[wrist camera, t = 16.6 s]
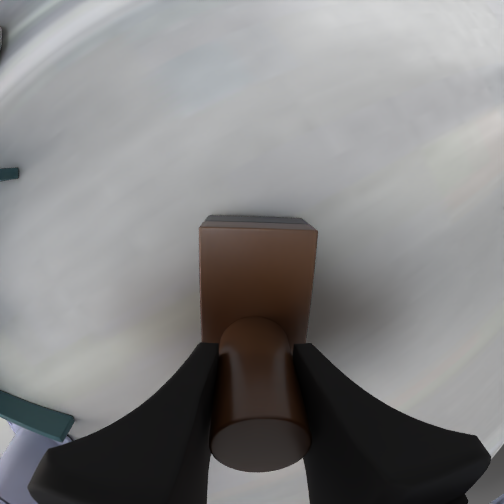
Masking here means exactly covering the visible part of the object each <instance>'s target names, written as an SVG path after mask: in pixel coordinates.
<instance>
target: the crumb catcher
mask: <svg viewBox="0 0 504 504" xmlns="http://www.w3.org/2000/svg"><path fill="white" fill-rule="evenodd" d="M17 178H18V168H4V169H0V181H5V180H11V179H17ZM0 417H1V418H3V419H5V420H7V421H10V422H12V423H14V424H16V425H18V426H20V427H23V428H25V429H27V430H30V431H32V432H34V433H37V434H39V435H42V436H45V437H47V438H50V439H53V440H55V441H58V442H61V443H63V441H64V440H65V438H66V436H67V434H68V432H69V430H70V429H71V427H72V425H73V423H74V419H73V417H72V416H70V415H66V414H63V413H60V412H57V411H53V410H50V409H47V408H44V407H41V406H39V405H36V404H33V403H30V402H28V401H25V400H22V399H20V398H17V397H15V396H12V395H10V394H8V393H5V392H3V391H1V390H0Z"/></svg>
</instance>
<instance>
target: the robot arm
mask: <svg viewBox="0 0 504 504" xmlns="http://www.w3.org/2000/svg"><path fill="white" fill-rule="evenodd" d="M292 358H293V362H294V366H295V370H296V374H297V377H298V381H299V385H300V389H301V393H302V397H303V401H304V405H305V409H306V413H307V417H308V422H309V426H310V430H311V434H312V444H311V447H310V449H309V451H308V453H307V454H306V455H305V456H304V457H303V459H304V464H305V469H306V475H307V483H308V490H309V499H310V504H467V503H468V499H467V497H466V495H465V493H466V492H467V491H468V490H469V489H470V488H471V487H472V486H473V485H474V484H475V483H476V481H477V480H478V479H479V478H480V477H481V476H482V475H483V473H484V472H485V471H486V470H487V468H488V466H489V464H490V461H491V456H490V454H489V453H488V451H487V450H486V449H485V447H484V446H483V444H482V443H481V442H480V440H479V439H478V437H477V436H475V435H470V434H465V433H460V432H455V431H451V430H446V429H443V428H440V427H437V426H434V425H431V424H428V423H425V422H422V421H420V420H417V419H415V418H412V417H410V416H408V415H406V414H404V413H402V412H400V411H398V410H396V409H394V408H392V407H390V406H388V405H387V404H385V403H383V402H382V401H380V400H378V399H377V398H375V397H373V396H372V395H370V394H369V393H368V392H366V391H365V390H363V389H362V388H361V387H359V386H358V385H357V384H355V383H354V382H353V381H352V380H350V379H349V378H348V377H347V376H346V375H344V374H343V373H342V372H341V371H340V370H339V369H338V368H336V367H335V366H334V365H333V364H332V363H331V362H330V361H329V360H328V359H327V358H326V357H325V356H324V355H323V354H322V353H321V352H320V351H319V350H318V349H317V348H316V347H315V346H314V345H313V344H311V343H302V344H294V346H293V355H292ZM218 360H219V343H205V342H201V343H199V344H198V345H197V347H196V348H195V349H194V351H193V352H192V354H191V355H190V356H189V357H188V359H187V360H186V361H185V362H184V364H183V365H182V366H181V367H180V368H179V369H178V371H177V372H176V373H175V374H174V375H173V376H172V377H171V378H170V379H169V380H168V381H167V382H166V383H165V384H164V385H163V386H162V387H161V388H160V389H159V390H158V391H157V392H156V393H155V394H154V395H153V396H151V397H150V398H149V399H148V400H147V401H145V402H144V403H143V404H141V405H140V406H139V407H138V408H136V409H135V410H133V411H132V412H130V413H129V414H127V415H126V416H124V417H123V418H121V419H119V420H118V421H116V422H114V423H113V424H111V425H109V426H107V427H105V428H103V429H101V430H99V431H97V432H95V433H92V434H90V435H88V436H85V437H83V438H80V439H78V440H75V441H72V440H71V439H70V438H69V437H67V436H66V438H65V440H64V441H63V443H61V442H58V441H55V440H53V439H50V438H47V437H45V436H42V435H39V434H37V433H34V432H32V431H30V430H27V429H25V428H23V427H20V426H18V425H16V424H14V423H12V422H10V421H8V423H9V425H10V426H11V428H12V430H13V431H14V433H15V434H16V435H15V436H14V438H13V439H12V441H11V442H10V444H9V445H8V447H7V448H6V450H5V451H4V453H3V454H2V456H1V458H0V504H207V485H208V470H209V462H210V456H211V451H210V449H209V434H210V424H211V415H212V406H213V397H214V389H215V382H216V376H217V369H218ZM489 504H504V494H502V495H501V496H500V497H498V498H497V499H495V500H494V501H492V502H490V503H489Z"/></svg>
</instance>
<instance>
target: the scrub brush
mask: <svg viewBox="0 0 504 504" xmlns="http://www.w3.org/2000/svg"><path fill="white" fill-rule="evenodd" d="M317 237H318V231H317V230H316V229H315V228H314V227H312V226H311V225H310V224H308V223H307V222H306V221H305V220H303V219H302V218H281V217H254V216H216V215H210V216H208V217H207V218H206V220H205V221H204V222H203V223H202V224H201V226H200V227H199V277H200V311H201V335H202V342H205V343H219V360H218V369H217V376H216V382H215V389H214V397H213V406H212V415H211V424H210V434H209V449H210V451H211V453H212V455H213V456H214V458H215V459H216V460H218V461H219V462H220V463H222V464H223V465H225V466H227V467H230V468H233V469H236V470H240V471H245V472H269V471H275V470H279V469H282V468H285V467H288V466H290V465H292V464H294V463H296V462H298V461H299V460H300V459H302V458H303V457H304V456H305V455H306V454H307V453H308V451H309V449H310V447H311V444H312V434H311V430H310V426H309V422H308V417H307V413H306V409H305V405H304V401H303V397H302V393H301V389H300V385H299V381H298V377H297V374H296V370H295V366H294V362H293V358H292V355H293V346H294V344H302V343H306V336H307V328H308V321H309V313H310V305H311V297H312V288H313V279H314V269H315V259H316V248H317Z"/></svg>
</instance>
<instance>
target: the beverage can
mask: <svg viewBox="0 0 504 504" xmlns="http://www.w3.org/2000/svg"><path fill="white" fill-rule="evenodd" d="M1 46H2V29H1V27H0V50H1Z"/></svg>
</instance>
